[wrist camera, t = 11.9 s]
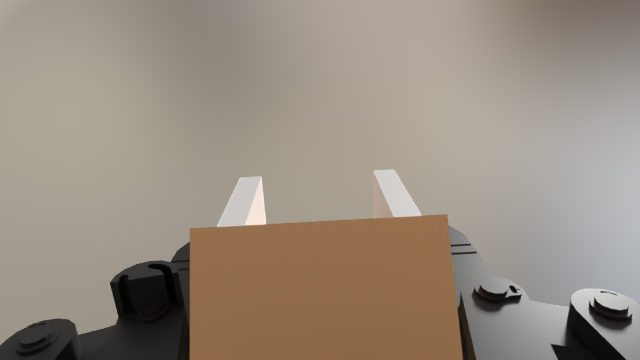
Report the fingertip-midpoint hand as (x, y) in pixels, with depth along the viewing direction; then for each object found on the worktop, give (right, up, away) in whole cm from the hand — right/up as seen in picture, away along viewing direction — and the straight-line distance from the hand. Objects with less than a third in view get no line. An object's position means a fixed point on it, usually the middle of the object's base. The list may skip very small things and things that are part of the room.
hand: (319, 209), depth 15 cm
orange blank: (0, -5, +4) cm, 6 cm away
